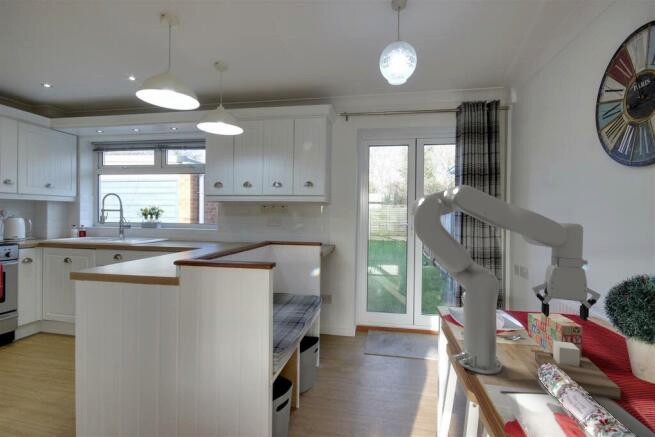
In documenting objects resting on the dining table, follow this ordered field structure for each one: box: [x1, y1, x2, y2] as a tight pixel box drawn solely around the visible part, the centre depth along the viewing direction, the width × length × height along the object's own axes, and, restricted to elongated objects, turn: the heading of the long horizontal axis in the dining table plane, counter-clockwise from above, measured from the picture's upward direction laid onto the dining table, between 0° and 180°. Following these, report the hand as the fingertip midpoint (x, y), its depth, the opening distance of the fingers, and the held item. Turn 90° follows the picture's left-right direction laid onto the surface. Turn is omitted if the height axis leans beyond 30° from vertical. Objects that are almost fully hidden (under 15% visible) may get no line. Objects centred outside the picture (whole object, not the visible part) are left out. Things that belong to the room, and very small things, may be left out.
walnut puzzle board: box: [534, 350, 621, 400], centre depth 89 cm, size 18×14×3 cm
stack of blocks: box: [527, 312, 583, 357], centre depth 109 cm, size 21×6×12 cm, turn 172°
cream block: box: [553, 341, 580, 367], centre depth 93 cm, size 5×5×7 cm
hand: (564, 317), depth 93 cm, fingers open, 9 cm apart
